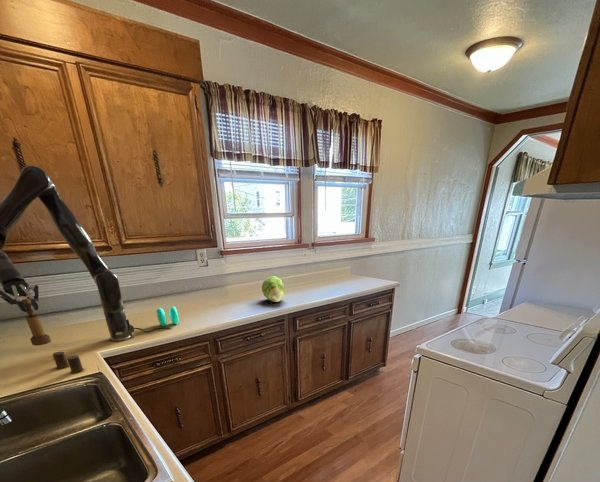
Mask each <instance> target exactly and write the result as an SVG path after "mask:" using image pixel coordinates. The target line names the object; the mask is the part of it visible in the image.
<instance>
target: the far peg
mask: <svg viewBox="0 0 600 482" xmlns="http://www.w3.org/2000/svg"><path fill="white" fill-rule="evenodd" d="M66 359H67V361H68V364H69V366H68V367H69V369H70V372H71V373H72V374H79V373H82V372H83V371H84V367H83V365H82V362H81V359H80V355H77V354H76V355H75V354H74V355H69V356H66Z"/></svg>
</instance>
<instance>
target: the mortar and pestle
mask: <svg viewBox="0 0 600 482" xmlns="http://www.w3.org/2000/svg"><path fill="white" fill-rule="evenodd" d="M21 301H22V303H23V304H24V306H25V307H26V309H27V312H26V313H27V316H25V320H26V322H27V324H28V327H29V331H30V332H31V335H32V336H31V338H30V343H31V345H32V346H36V347H37V346H44V345H48V344H51V342H52V339H51V336H50V335H48V334H47V333H45V331H44V328H43V326H42V323H41V320H40V317H39V315H38V314H35V313H34V309H32V305H31V304H32V302H31V300H29V299H26V298H22V299H21Z"/></svg>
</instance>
